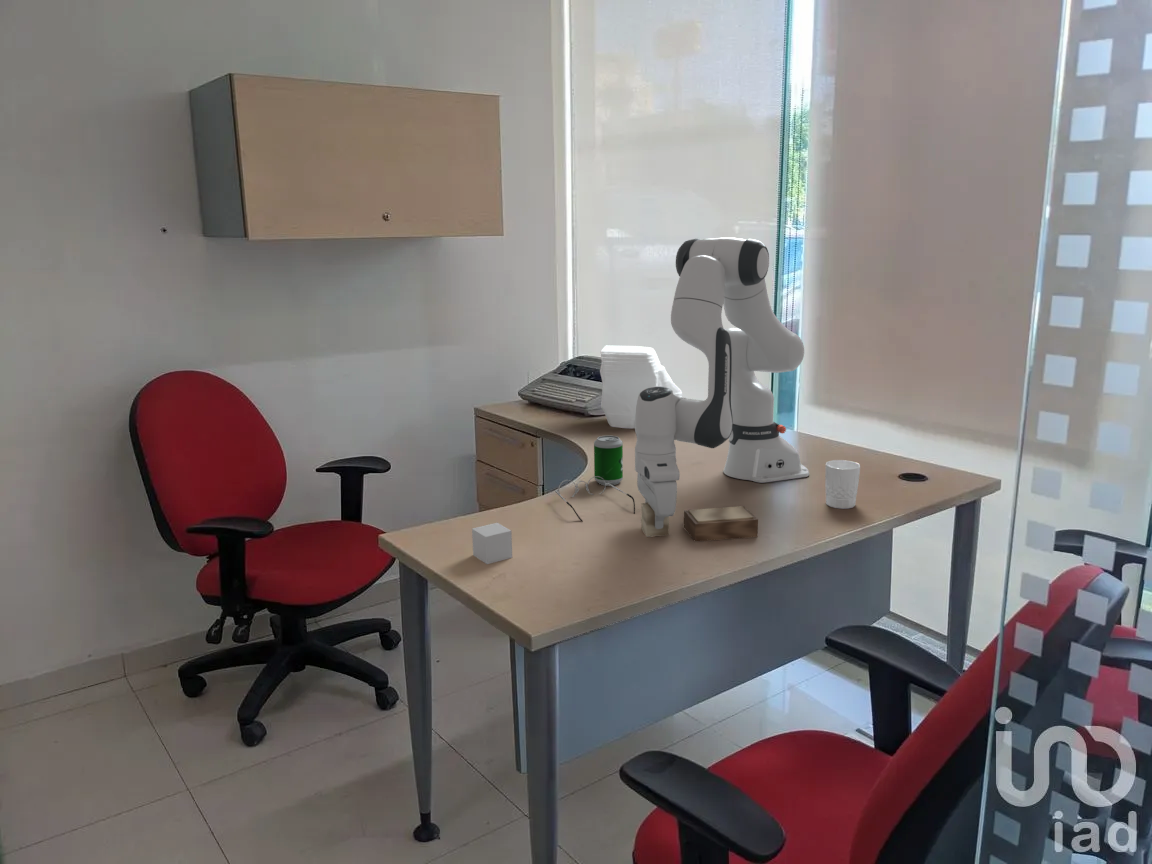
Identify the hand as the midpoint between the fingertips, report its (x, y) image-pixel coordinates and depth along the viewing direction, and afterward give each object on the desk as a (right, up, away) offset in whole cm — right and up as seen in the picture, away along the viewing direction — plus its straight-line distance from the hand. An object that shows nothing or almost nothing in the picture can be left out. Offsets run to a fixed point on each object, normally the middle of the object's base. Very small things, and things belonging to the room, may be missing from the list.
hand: (654, 522), depth 189 cm
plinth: (+14, -2, 0) cm, 14 cm away
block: (0, -2, +1) cm, 2 cm away
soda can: (-9, +7, +37) cm, 38 cm away
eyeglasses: (-13, +1, +18) cm, 23 cm away
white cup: (+46, +2, +16) cm, 49 cm away
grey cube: (-35, -6, -11) cm, 37 cm away
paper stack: (+3, +22, +97) cm, 100 cm away
